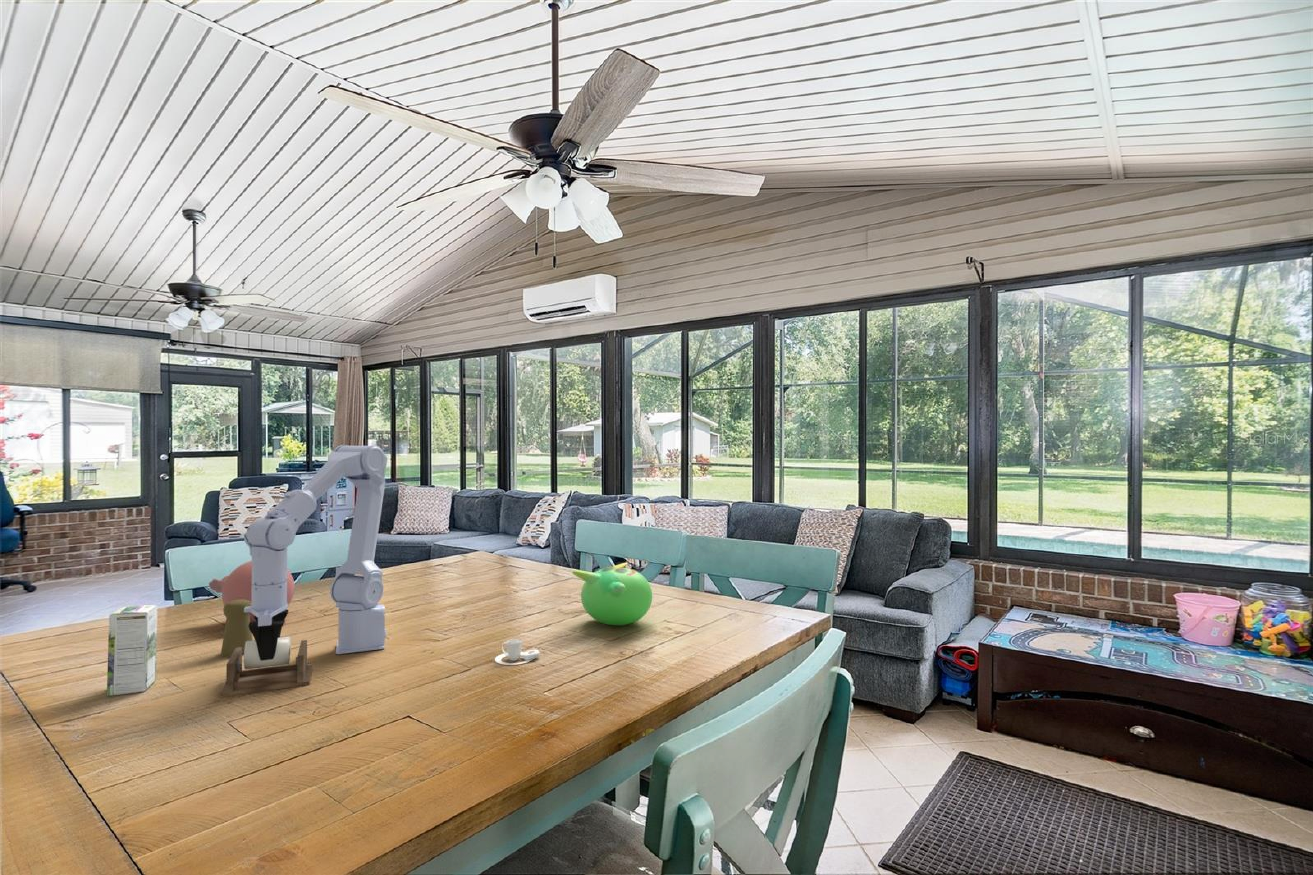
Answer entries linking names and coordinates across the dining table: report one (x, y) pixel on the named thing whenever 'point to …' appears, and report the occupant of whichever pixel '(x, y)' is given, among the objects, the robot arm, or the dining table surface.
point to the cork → (236, 627)
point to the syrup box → (132, 649)
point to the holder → (265, 674)
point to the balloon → (243, 586)
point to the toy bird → (615, 594)
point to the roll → (254, 660)
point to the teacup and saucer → (516, 653)
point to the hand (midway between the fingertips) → (268, 654)
